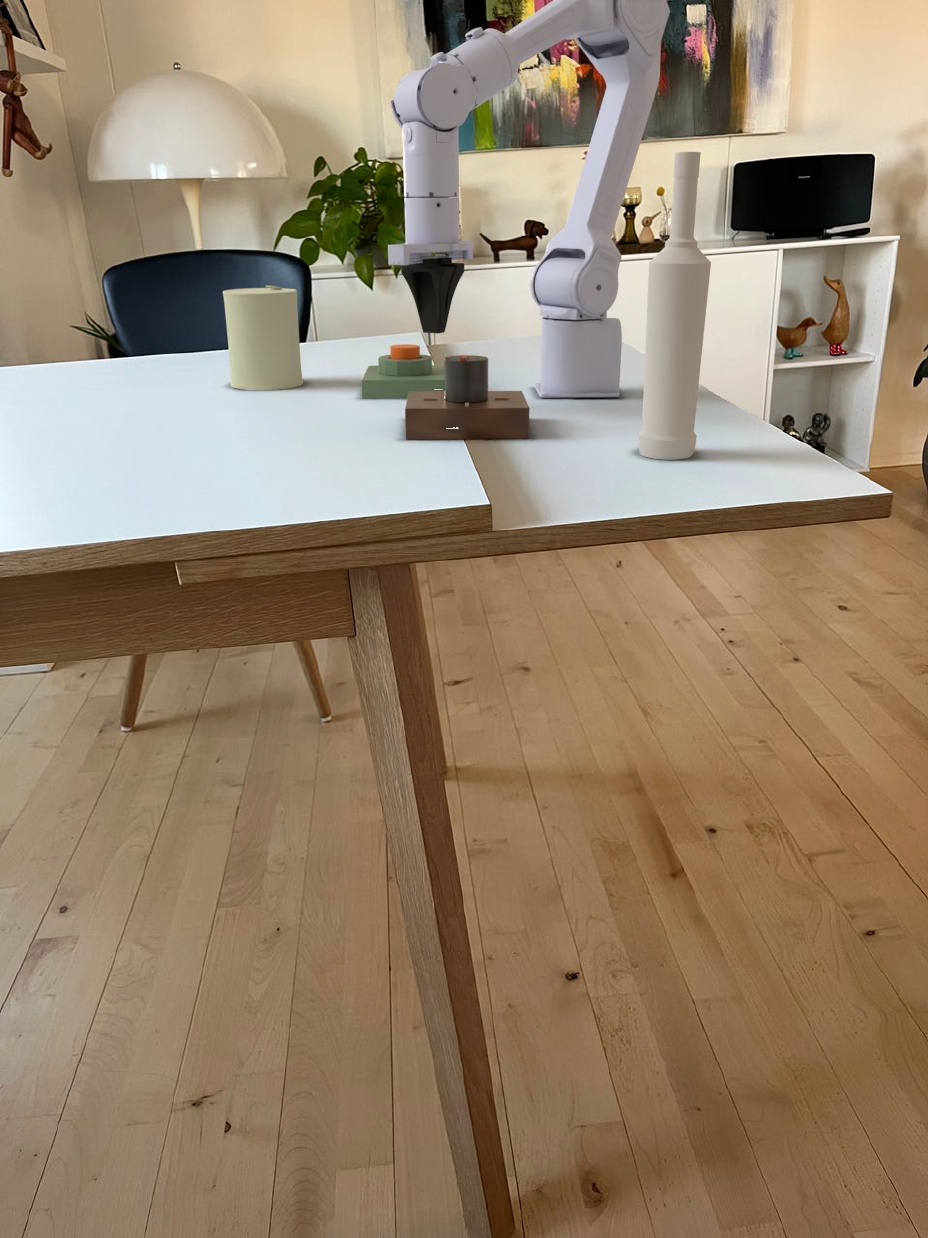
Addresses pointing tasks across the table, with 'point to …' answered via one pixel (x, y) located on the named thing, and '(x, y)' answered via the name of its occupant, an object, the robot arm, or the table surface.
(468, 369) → the dial
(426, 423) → the dial panel
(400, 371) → the green button base
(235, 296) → the can
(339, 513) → the table surface
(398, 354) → the button
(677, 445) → the bottle
